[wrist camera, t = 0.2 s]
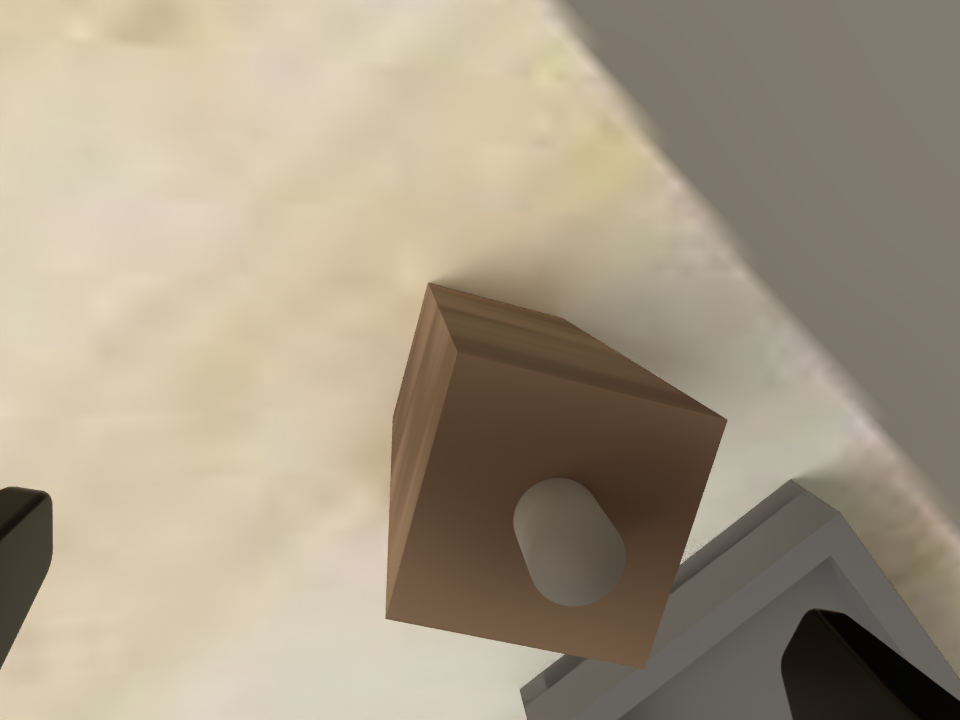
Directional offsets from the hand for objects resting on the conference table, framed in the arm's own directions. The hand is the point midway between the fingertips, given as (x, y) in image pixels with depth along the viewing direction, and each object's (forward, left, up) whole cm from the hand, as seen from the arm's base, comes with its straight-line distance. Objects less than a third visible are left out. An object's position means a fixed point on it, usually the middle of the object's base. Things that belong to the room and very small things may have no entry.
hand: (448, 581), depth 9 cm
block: (+1, -2, -16) cm, 16 cm away
